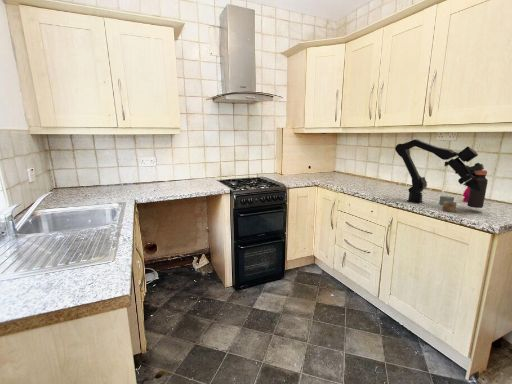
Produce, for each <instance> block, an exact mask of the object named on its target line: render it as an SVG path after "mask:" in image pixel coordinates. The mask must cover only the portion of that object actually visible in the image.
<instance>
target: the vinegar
mask: <svg viewBox="0 0 512 384" xmlns="http://www.w3.org/2000/svg"><path fill="white" fill-rule="evenodd" d="M487 175H488V170H485V169H483V170H478V171H475V182H476V184H477V185H478V187H479V188H480V191H477V190H475V189H472V188H470V191H469V197H468V202H466V205H467V207H469V208H474V209H482V208H484V204H485V198H486V193H487V186H488V182H489V181H488V179H487V178H486V177H487Z"/></svg>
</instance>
